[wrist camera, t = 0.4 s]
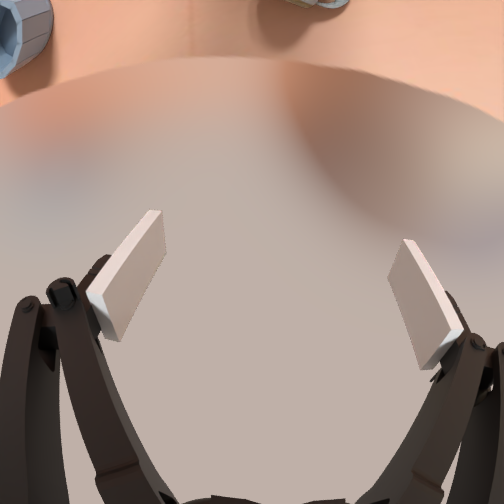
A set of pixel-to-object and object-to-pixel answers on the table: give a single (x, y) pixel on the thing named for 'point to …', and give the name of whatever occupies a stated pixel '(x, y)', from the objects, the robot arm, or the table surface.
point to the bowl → (23, 32)
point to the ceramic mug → (318, 3)
